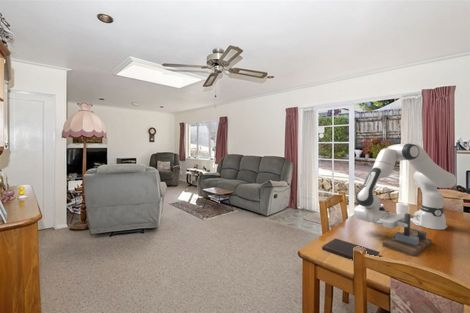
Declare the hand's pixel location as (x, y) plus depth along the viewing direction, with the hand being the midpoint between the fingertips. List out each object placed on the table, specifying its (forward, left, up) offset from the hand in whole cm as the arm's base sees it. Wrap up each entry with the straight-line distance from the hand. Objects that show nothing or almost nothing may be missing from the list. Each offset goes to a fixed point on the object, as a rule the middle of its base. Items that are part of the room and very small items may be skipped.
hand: (409, 224), depth 128 cm
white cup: (-60, +25, -12) cm, 66 cm away
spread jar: (-47, +1, -12) cm, 48 cm away
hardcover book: (+14, -35, -13) cm, 39 cm away
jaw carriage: (-1, -1, -10) cm, 10 cm away
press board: (-2, 0, -12) cm, 12 cm away
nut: (-6, +5, -10) cm, 13 cm away
